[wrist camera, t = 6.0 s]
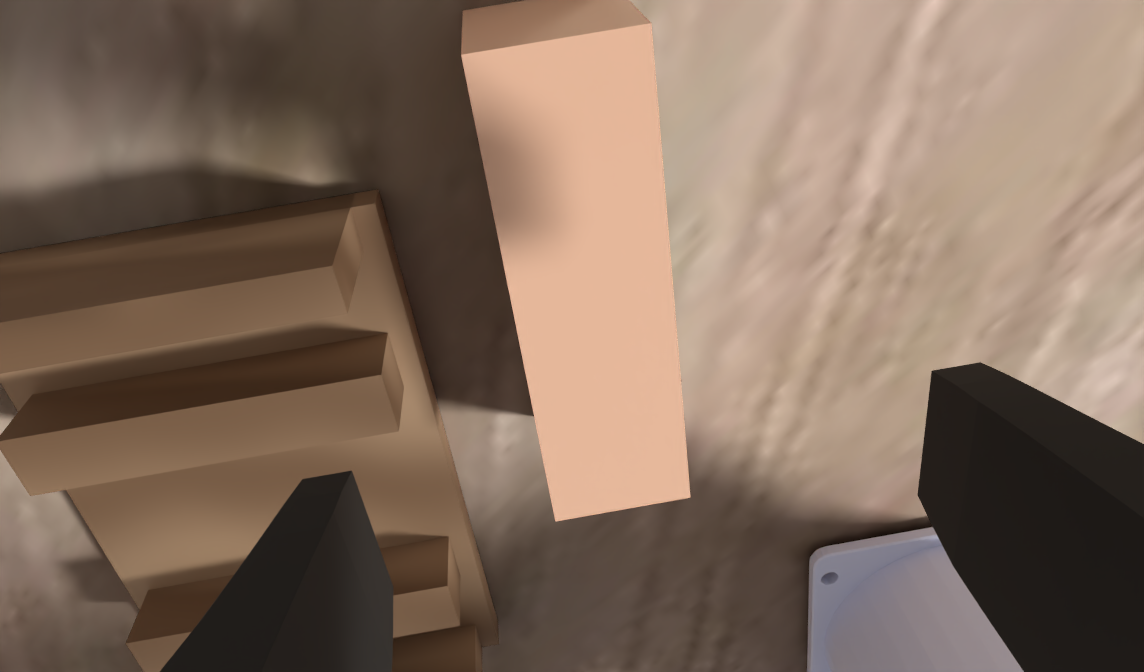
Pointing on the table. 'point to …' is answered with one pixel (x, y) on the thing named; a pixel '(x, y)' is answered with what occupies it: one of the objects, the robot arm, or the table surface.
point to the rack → (239, 410)
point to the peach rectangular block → (584, 242)
